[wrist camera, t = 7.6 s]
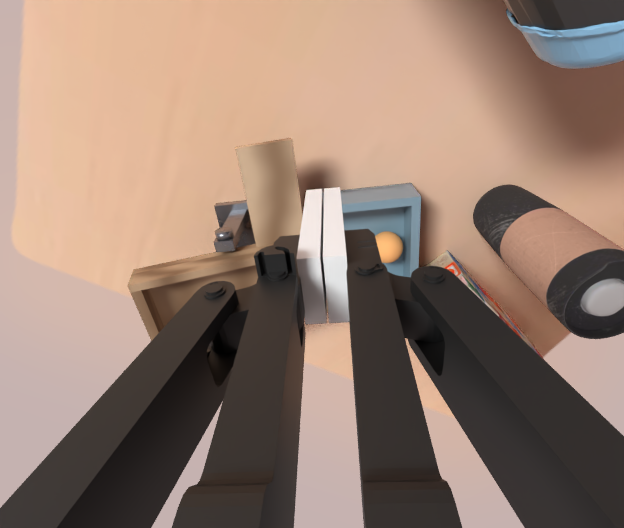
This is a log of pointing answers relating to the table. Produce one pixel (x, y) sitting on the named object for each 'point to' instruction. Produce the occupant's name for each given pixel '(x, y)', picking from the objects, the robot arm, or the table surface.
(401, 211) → the tub
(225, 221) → the stand
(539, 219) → the travel mug
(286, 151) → the chute
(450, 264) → the stack of blocks
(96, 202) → the table surface
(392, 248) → the ball
